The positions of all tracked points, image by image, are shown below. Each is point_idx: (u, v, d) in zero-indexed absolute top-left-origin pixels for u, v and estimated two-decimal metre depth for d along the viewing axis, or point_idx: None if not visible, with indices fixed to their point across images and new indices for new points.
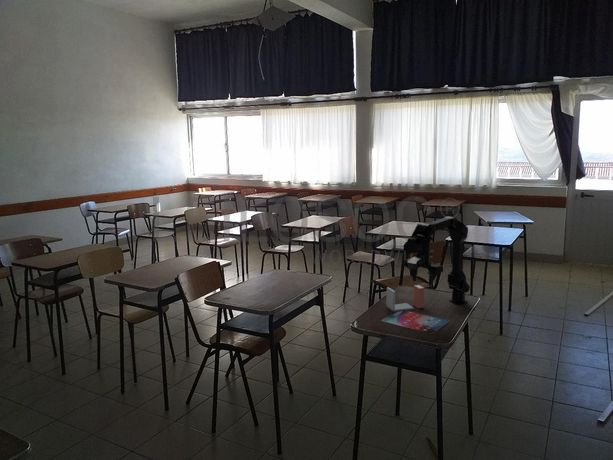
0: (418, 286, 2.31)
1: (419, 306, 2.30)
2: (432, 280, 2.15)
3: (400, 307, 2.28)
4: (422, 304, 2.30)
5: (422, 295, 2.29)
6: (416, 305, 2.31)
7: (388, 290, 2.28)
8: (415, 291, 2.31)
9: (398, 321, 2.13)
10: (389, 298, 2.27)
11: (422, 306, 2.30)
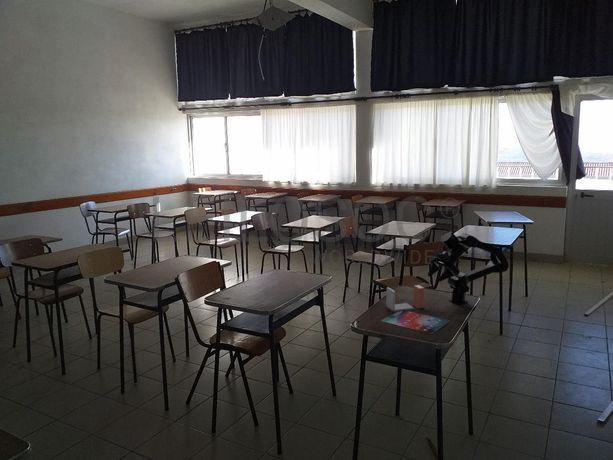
0: (418, 286, 2.31)
1: (419, 306, 2.30)
2: (443, 277, 2.27)
3: (400, 307, 2.28)
4: (422, 304, 2.30)
5: (422, 295, 2.29)
6: (416, 305, 2.31)
7: (388, 290, 2.28)
8: (415, 291, 2.31)
9: (398, 321, 2.13)
10: (389, 298, 2.27)
11: (422, 306, 2.30)
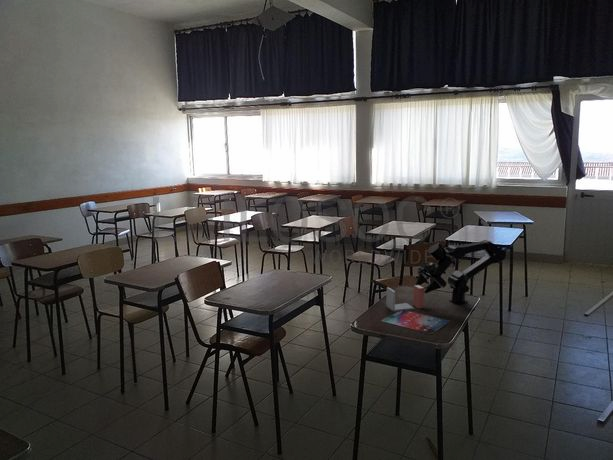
0: (418, 286, 2.31)
1: (419, 306, 2.30)
2: (430, 289, 2.26)
3: (400, 307, 2.28)
4: (422, 304, 2.30)
5: (422, 295, 2.29)
6: (416, 305, 2.31)
7: (388, 290, 2.28)
8: (415, 291, 2.31)
9: (398, 321, 2.13)
10: (389, 298, 2.27)
11: (422, 306, 2.30)
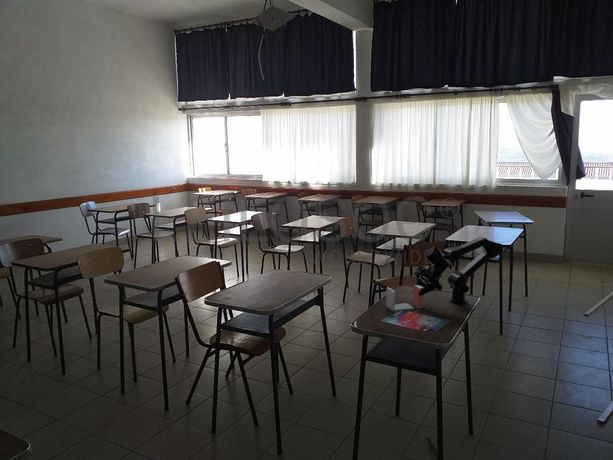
0: (418, 286, 2.31)
1: (419, 306, 2.30)
2: (424, 291, 2.27)
3: (400, 307, 2.28)
4: (422, 304, 2.30)
5: (422, 295, 2.29)
6: (416, 305, 2.31)
7: (388, 290, 2.28)
8: (415, 291, 2.31)
9: (398, 321, 2.13)
10: (389, 298, 2.27)
11: (422, 306, 2.30)
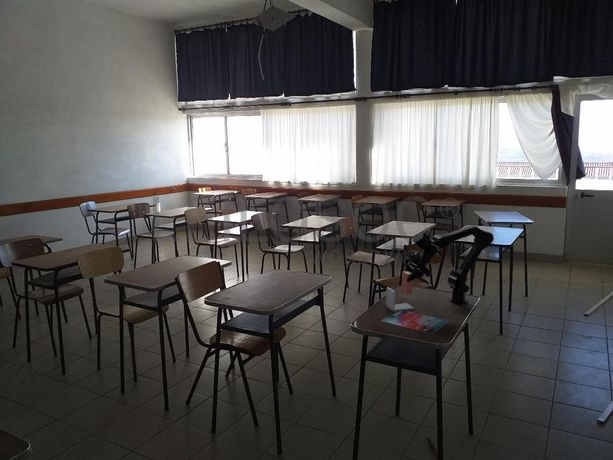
0: (407, 272, 2.27)
1: (407, 292, 2.26)
2: (412, 277, 2.24)
3: (400, 307, 2.28)
4: (410, 290, 2.27)
5: (410, 281, 2.26)
6: (404, 291, 2.28)
7: (388, 290, 2.28)
8: (403, 277, 2.28)
9: (398, 321, 2.13)
10: (389, 298, 2.27)
11: (410, 292, 2.27)
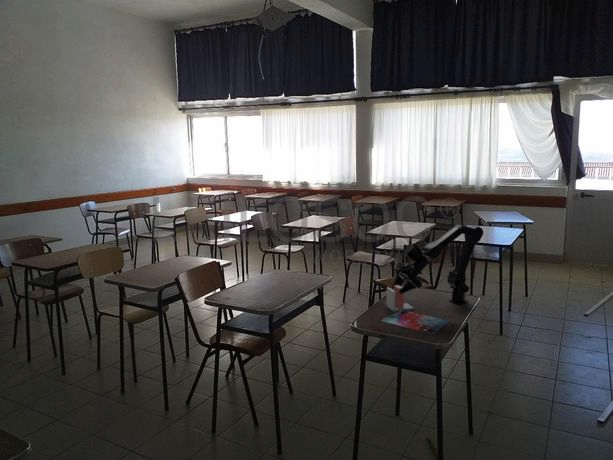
0: (398, 286, 2.27)
1: (399, 306, 2.26)
2: (405, 289, 2.23)
3: None
4: (402, 304, 2.27)
5: (402, 295, 2.26)
6: (396, 305, 2.28)
7: (388, 290, 2.28)
8: (395, 291, 2.28)
9: (398, 321, 2.13)
10: (389, 298, 2.27)
11: (402, 306, 2.27)
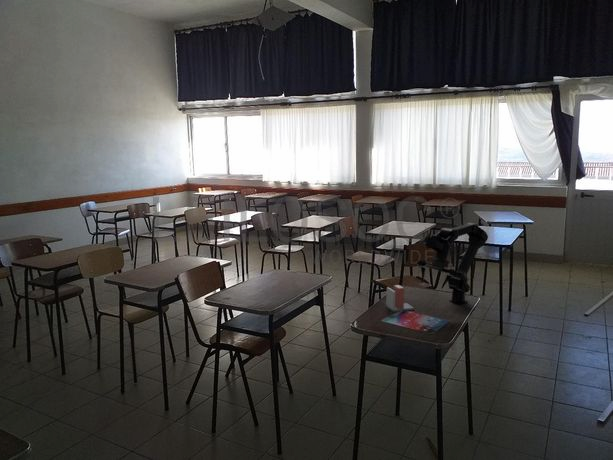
0: (398, 286, 2.27)
1: (399, 306, 2.26)
2: (445, 283, 2.23)
3: None
4: (402, 304, 2.27)
5: (402, 295, 2.26)
6: (396, 305, 2.28)
7: (388, 290, 2.28)
8: (395, 291, 2.28)
9: (398, 321, 2.13)
10: (389, 298, 2.27)
11: (402, 306, 2.27)
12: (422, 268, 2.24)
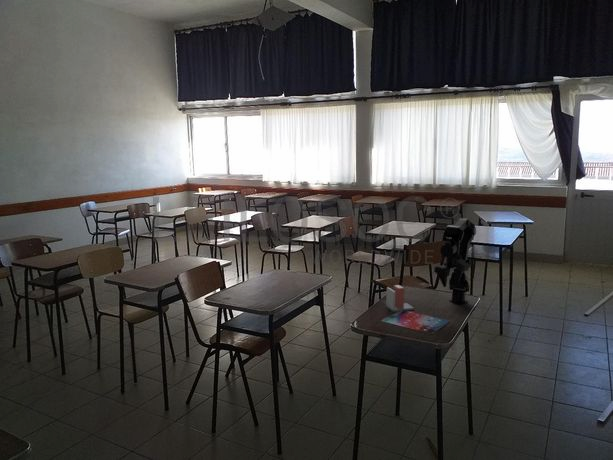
0: (398, 286, 2.27)
1: (399, 306, 2.26)
2: None
3: None
4: (402, 304, 2.27)
5: (402, 295, 2.26)
6: (396, 305, 2.28)
7: (388, 290, 2.28)
8: (395, 291, 2.28)
9: (398, 321, 2.13)
10: (389, 298, 2.27)
11: (402, 306, 2.27)
12: (447, 275, 2.16)
